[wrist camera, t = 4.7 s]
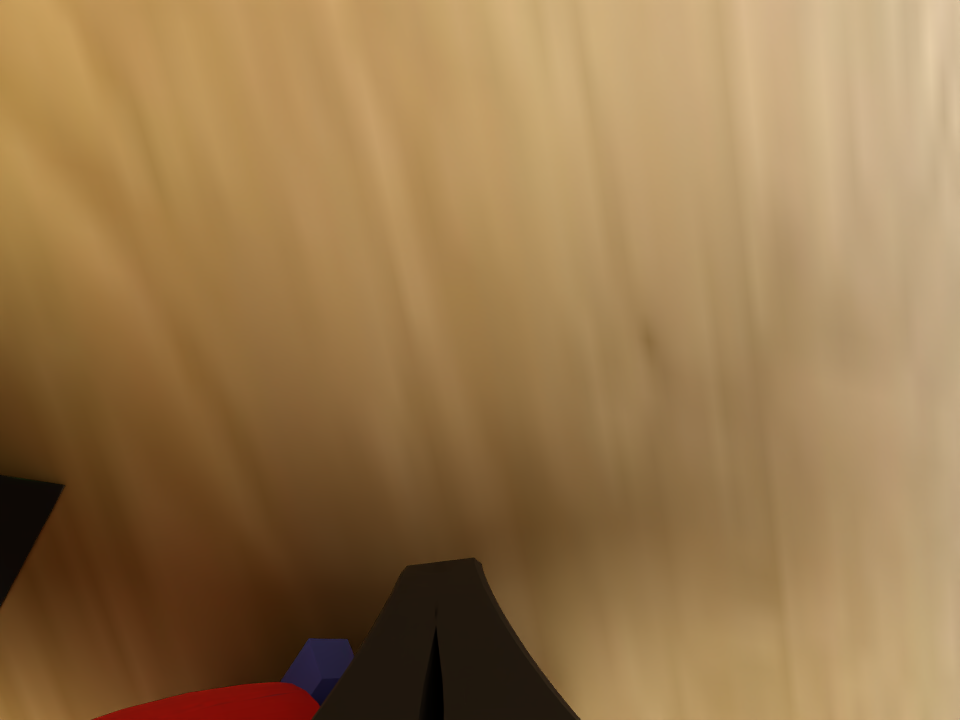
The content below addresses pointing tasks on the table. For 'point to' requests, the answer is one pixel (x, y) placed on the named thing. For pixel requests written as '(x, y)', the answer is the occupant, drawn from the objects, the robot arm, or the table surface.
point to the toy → (196, 715)
